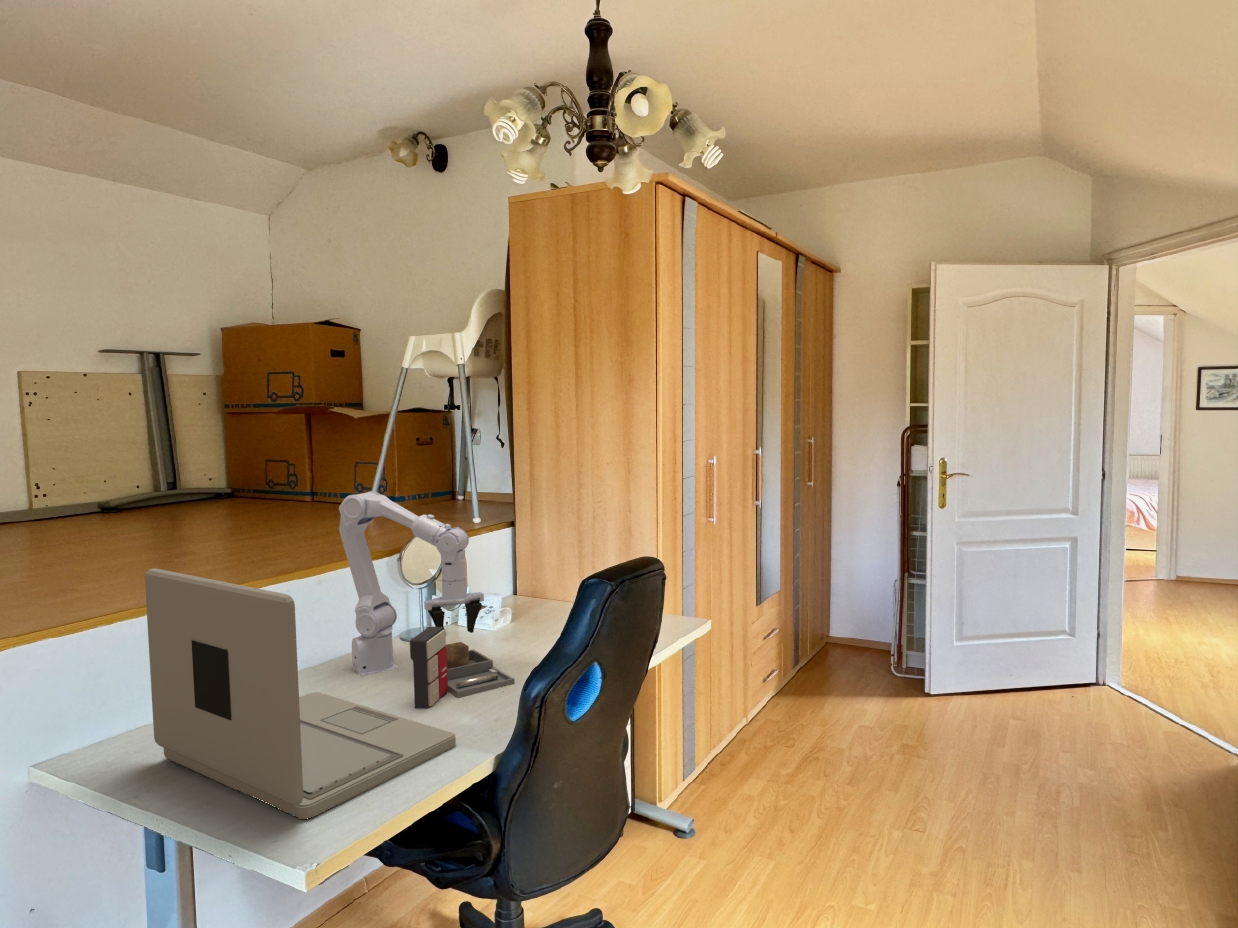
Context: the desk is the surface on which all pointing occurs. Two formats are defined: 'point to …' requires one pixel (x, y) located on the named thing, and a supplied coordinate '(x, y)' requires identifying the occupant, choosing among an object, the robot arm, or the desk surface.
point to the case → (471, 666)
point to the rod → (476, 680)
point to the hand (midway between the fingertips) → (455, 634)
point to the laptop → (262, 701)
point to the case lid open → (481, 687)
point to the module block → (457, 655)
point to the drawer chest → (429, 666)
